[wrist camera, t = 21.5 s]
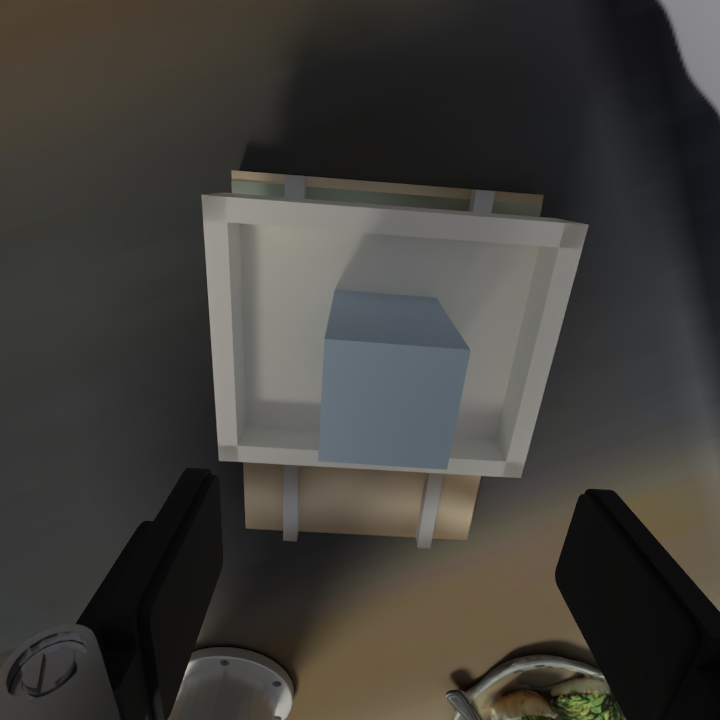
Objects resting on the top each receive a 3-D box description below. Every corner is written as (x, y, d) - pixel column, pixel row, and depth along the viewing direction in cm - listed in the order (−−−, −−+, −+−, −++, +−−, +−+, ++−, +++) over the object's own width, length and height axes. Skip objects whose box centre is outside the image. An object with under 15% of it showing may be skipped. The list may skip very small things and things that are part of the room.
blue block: (422, 388, 23) (447, 469, 17) (329, 381, 23) (317, 461, 16) (436, 297, 21) (470, 349, 15) (334, 289, 21) (324, 338, 14)
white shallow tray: (492, 426, 28) (520, 478, 23) (243, 411, 27) (218, 460, 22) (540, 215, 23) (588, 224, 18) (235, 191, 22) (201, 194, 17)
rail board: (462, 525, 35) (469, 550, 32) (250, 514, 34) (242, 538, 32) (533, 194, 25) (551, 195, 23) (238, 170, 24) (226, 170, 22)
